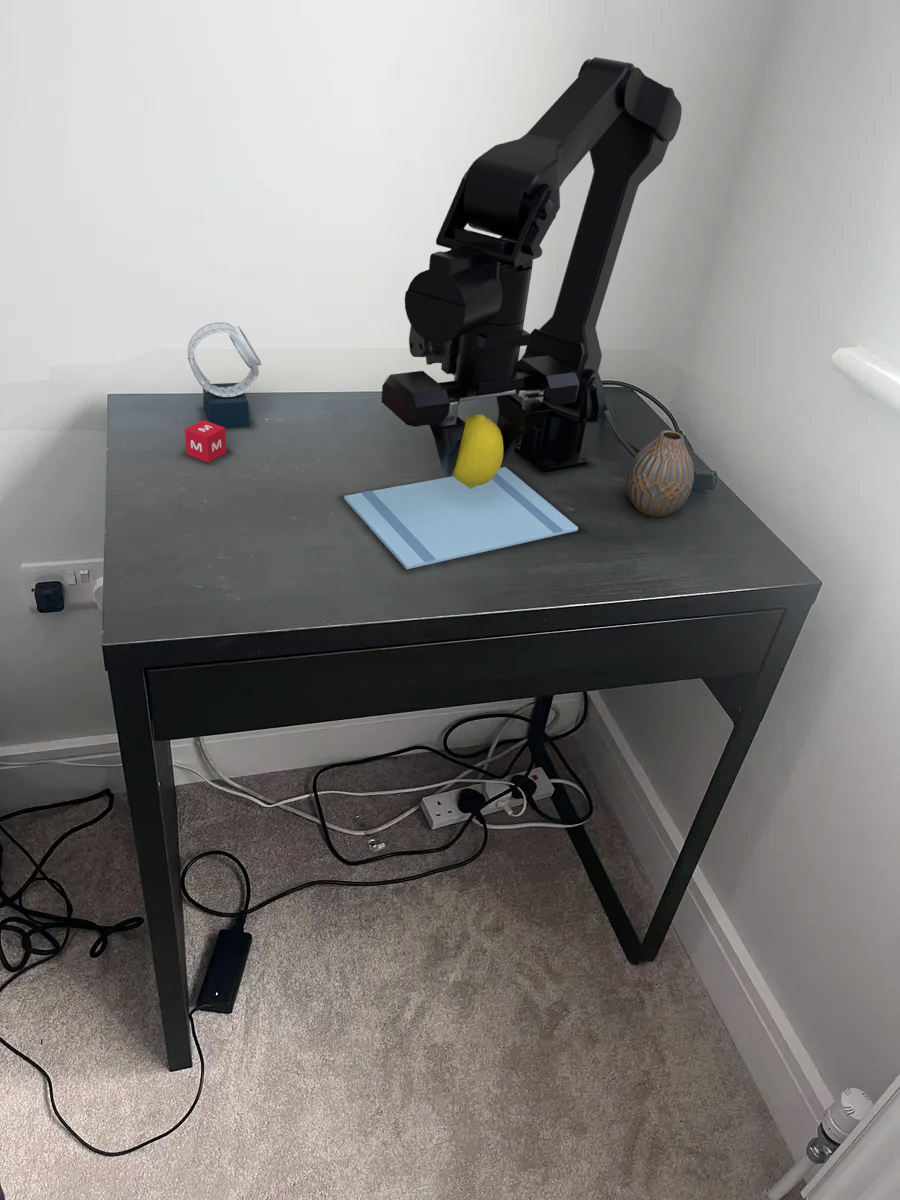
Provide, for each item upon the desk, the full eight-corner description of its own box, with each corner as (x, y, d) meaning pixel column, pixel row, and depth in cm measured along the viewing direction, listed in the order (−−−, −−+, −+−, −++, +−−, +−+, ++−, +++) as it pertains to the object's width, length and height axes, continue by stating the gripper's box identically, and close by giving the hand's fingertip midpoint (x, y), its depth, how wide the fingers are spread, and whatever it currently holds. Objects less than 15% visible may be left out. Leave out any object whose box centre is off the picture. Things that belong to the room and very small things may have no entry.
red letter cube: (204, 444, 101) (203, 419, 100) (226, 452, 100) (225, 427, 99) (186, 454, 99) (184, 428, 97) (208, 462, 98) (206, 437, 96)
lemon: (492, 506, 90) (504, 431, 85) (437, 495, 90) (445, 420, 85) (501, 480, 94) (512, 408, 89) (449, 470, 95) (457, 398, 90)
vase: (615, 513, 98) (633, 439, 93) (627, 486, 104) (645, 415, 99) (678, 530, 97) (700, 455, 92) (688, 502, 102) (709, 430, 97)
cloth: (505, 469, 104) (505, 466, 104) (577, 530, 95) (578, 527, 94) (344, 499, 95) (344, 495, 95) (406, 569, 85) (407, 565, 85)
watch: (265, 426, 107) (264, 333, 100) (195, 430, 104) (189, 335, 98) (256, 406, 111) (255, 316, 105) (188, 409, 108) (182, 317, 102)
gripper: (528, 280, 91) (507, 423, 101) (359, 292, 83) (352, 448, 92) (596, 317, 84) (566, 469, 93) (417, 335, 75) (403, 500, 85)
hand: (472, 469), depth 91 cm, fingers closed on lemon, 5 cm apart
